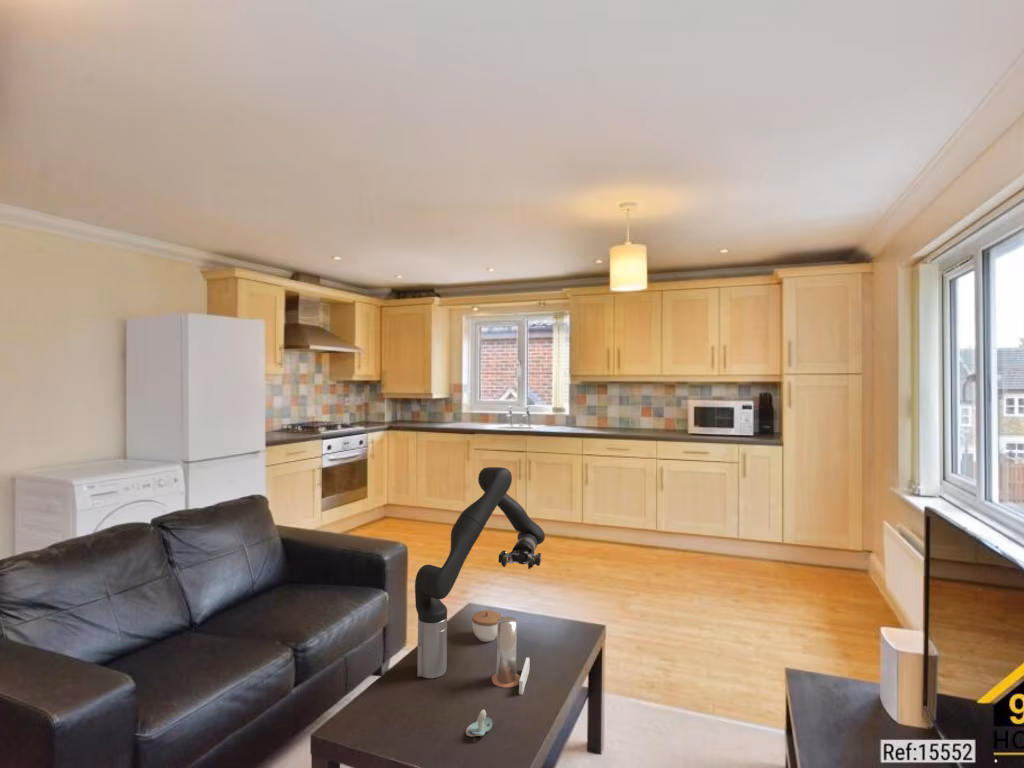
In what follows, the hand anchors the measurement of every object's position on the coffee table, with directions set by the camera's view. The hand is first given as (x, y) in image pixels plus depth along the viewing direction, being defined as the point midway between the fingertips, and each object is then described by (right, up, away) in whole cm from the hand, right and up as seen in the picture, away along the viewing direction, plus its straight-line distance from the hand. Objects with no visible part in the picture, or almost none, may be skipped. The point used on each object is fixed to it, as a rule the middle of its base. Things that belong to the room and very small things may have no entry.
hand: (516, 565), depth 180 cm
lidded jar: (-11, -32, +16) cm, 38 cm away
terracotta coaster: (-3, -32, -11) cm, 34 cm away
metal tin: (-3, -32, -11) cm, 34 cm away
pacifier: (-10, -32, -36) cm, 50 cm away
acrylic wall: (+2, -32, -12) cm, 34 cm away
